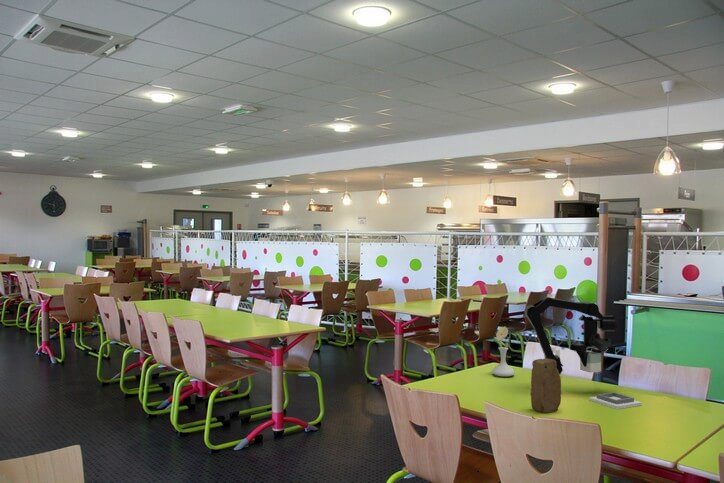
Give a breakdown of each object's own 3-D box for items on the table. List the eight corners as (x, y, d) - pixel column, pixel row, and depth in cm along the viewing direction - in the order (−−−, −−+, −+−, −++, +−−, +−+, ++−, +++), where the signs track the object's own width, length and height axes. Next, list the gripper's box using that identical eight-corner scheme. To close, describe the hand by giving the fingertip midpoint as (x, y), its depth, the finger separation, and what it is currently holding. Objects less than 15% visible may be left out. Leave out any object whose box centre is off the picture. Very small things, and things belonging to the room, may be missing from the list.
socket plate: (616, 409, 220) (616, 402, 220) (589, 400, 233) (589, 393, 233) (641, 405, 226) (641, 398, 226) (613, 396, 239) (613, 390, 239)
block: (541, 414, 213) (541, 362, 213) (528, 409, 220) (528, 358, 220) (563, 411, 217) (563, 360, 217) (550, 406, 224) (550, 356, 224)
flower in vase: (489, 372, 283) (489, 323, 284) (512, 373, 283) (512, 324, 283) (494, 378, 270) (495, 327, 271) (518, 379, 270) (518, 327, 270)
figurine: (551, 373, 282) (551, 344, 282) (564, 377, 273) (564, 347, 274) (539, 374, 280) (540, 345, 280) (552, 379, 271) (552, 348, 271)
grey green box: (590, 372, 241) (590, 354, 242) (580, 369, 247) (580, 351, 247) (600, 371, 244) (600, 353, 244) (590, 368, 249) (590, 350, 249)
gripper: (588, 334, 234) (588, 371, 234) (620, 332, 242) (620, 367, 242) (569, 330, 245) (569, 366, 244) (600, 328, 252) (600, 363, 252)
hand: (590, 366), depth 245 cm, fingers closed on grey green box, 6 cm apart
